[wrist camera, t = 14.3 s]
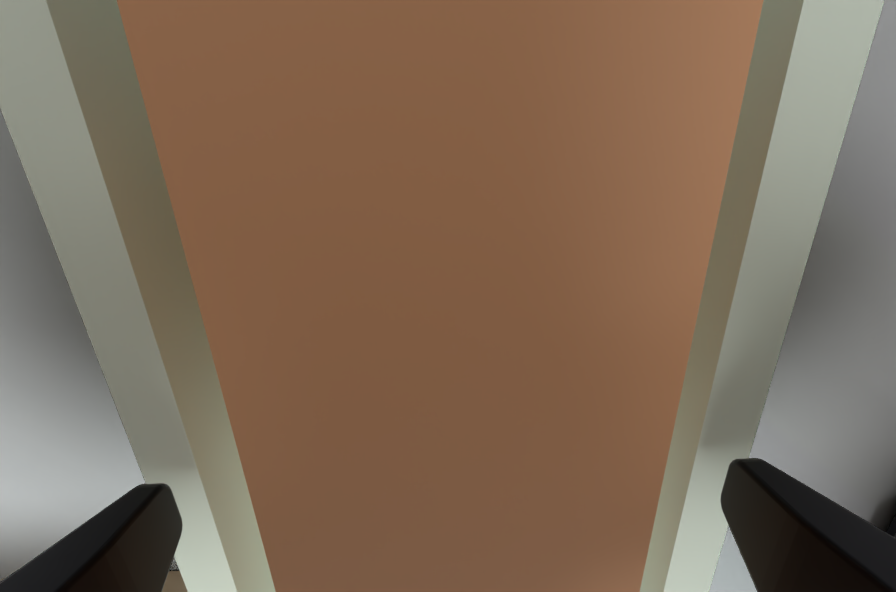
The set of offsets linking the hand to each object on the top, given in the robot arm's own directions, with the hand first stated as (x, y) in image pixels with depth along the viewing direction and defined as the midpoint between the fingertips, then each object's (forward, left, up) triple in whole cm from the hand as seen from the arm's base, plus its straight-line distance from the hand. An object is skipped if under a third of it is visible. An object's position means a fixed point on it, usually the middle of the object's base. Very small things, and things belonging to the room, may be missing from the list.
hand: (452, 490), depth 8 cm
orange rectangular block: (0, -1, -3) cm, 3 cm away
